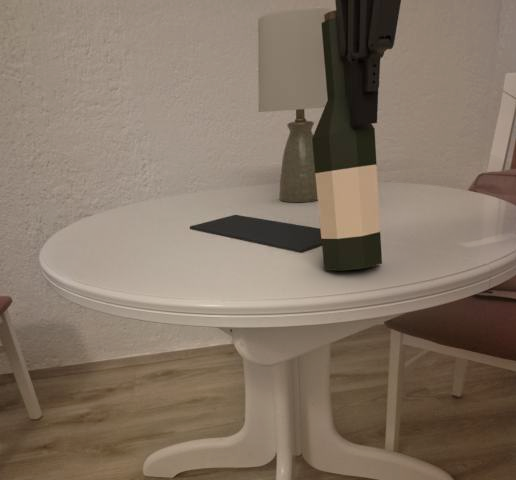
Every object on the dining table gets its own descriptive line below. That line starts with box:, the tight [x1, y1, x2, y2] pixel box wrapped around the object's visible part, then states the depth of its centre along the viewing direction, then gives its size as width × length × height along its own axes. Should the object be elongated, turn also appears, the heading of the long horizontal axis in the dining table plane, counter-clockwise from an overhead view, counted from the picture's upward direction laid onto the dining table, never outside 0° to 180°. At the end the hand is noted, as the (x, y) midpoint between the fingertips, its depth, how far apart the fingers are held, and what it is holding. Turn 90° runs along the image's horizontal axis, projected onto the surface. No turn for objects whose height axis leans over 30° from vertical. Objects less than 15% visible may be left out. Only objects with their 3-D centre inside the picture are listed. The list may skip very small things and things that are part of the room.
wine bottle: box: [312, 9, 383, 272], centre depth 62 cm, size 8×8×30 cm
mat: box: [189, 214, 322, 253], centre depth 89 cm, size 30×12×1 cm, turn 43°
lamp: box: [257, 7, 336, 203], centre depth 108 cm, size 19×19×37 cm
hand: (363, 123), depth 57 cm, fingers closed
